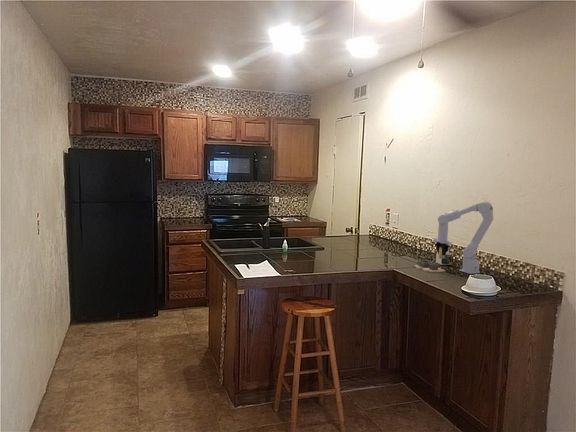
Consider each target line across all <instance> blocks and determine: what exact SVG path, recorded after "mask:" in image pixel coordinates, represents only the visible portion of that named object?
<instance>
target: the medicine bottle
mask: <svg viewBox="0 0 576 432" xmlns="http://www.w3.org/2000/svg"><path fill="white" fill-rule="evenodd" d="M435 264H438V265H441V266H448V265H452V253H450V247H449V248H448V250H447V252H446V255H445V256H444V259H441V258H439V254H438V252H436V257H435Z"/></svg>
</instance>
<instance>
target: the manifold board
mask: <svg viewBox="0 0 576 432" xmlns="http://www.w3.org/2000/svg"><path fill="white" fill-rule="evenodd" d="M412 267H413V268H416V269H419V270H421V271H424V272H427V273H430V274H431V273H445V272H446V269H443V268H440V267H439V264H438V263H436V262H435V263H434V261H431V260H427V259H422V260H421V259H420V260H417V263H416V264H413V266H412Z"/></svg>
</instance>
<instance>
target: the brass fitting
mask: <svg viewBox="0 0 576 432" xmlns="http://www.w3.org/2000/svg"><path fill="white" fill-rule="evenodd" d="M439 258H441V259H444V256H443V255H442V248H441V247H439Z"/></svg>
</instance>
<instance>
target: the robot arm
mask: <svg viewBox="0 0 576 432" xmlns="http://www.w3.org/2000/svg"><path fill="white" fill-rule="evenodd" d="M472 212H479V214H481V216H482V218H483V220H482V221H481V223H480V225H479V227H478V228H477V230H476V232H475V234H474V236H473V237H472V239H471V240H470V242H469V243H468V245H467V246H466V247H465V248H464V249H463V250H462V255H463V256H462V269H461V268H460V269H459V271H460V272H462V273H463V272H464V273H467V274H469V275H473V274H480V273H481V272H480V265H481V264H480V263H481V262H480V260H478V259H477V256H476V255H477V253H478V248H479V245H480V243H481V242H482V240H483V239H484V236H485V235H486V233H487V232H488V230H489V228H490V226H491V224H492V223H493V221H494V207H493V206H492V204H491V203H490V202H489V201H484V202H479V203H475V204H471V205H469V206H467V207H465V208H462V209H460V210H459V209H451V210H450V211H449V212H444V214H441V215H439V216H438V218H437V221H438V230H437V238H433V242H434V245H435V247H436V250H437V252H438V254H439V247H441V248H442V255H443V256H445V255H446V252H447V250H448V248H449V249H450V247H451V246H452V241H449V240H448V236H449V235H448V234H449V223H451V222H453V221H456V220H458V219H460V218H461V217H462V216H463V215H465V214H468V213H472ZM437 252H436V253H437Z"/></svg>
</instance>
